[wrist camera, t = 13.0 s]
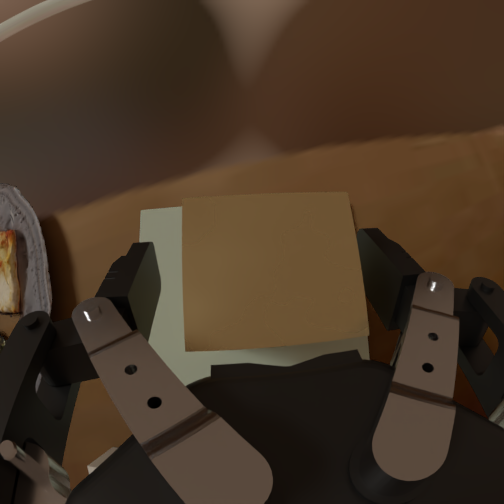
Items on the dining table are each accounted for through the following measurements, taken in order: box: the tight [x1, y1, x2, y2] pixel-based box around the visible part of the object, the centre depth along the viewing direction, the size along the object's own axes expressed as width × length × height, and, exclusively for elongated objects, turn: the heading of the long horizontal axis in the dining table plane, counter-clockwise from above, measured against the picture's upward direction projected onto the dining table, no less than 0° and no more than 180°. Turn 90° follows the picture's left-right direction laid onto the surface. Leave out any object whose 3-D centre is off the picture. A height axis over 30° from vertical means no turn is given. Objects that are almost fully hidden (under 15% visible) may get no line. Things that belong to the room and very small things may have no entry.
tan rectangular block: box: [182, 192, 369, 352], centre depth 13 cm, size 5×4×11 cm
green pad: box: [139, 207, 370, 386], centre depth 19 cm, size 14×14×1 cm
